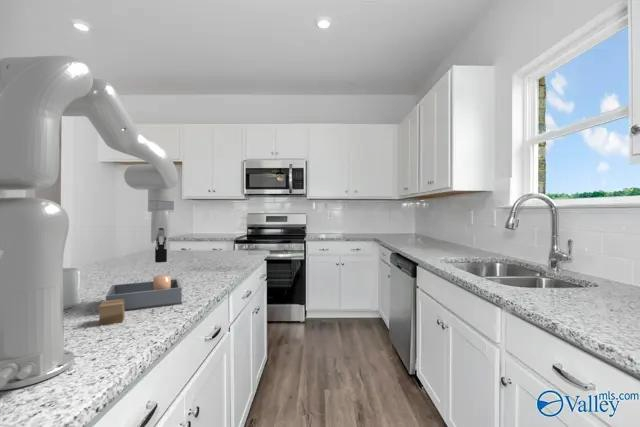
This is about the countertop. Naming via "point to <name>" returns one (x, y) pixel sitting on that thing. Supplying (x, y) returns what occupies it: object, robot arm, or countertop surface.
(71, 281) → the mug
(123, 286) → the tote
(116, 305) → the walnut cube
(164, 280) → the terracotta cylinder
